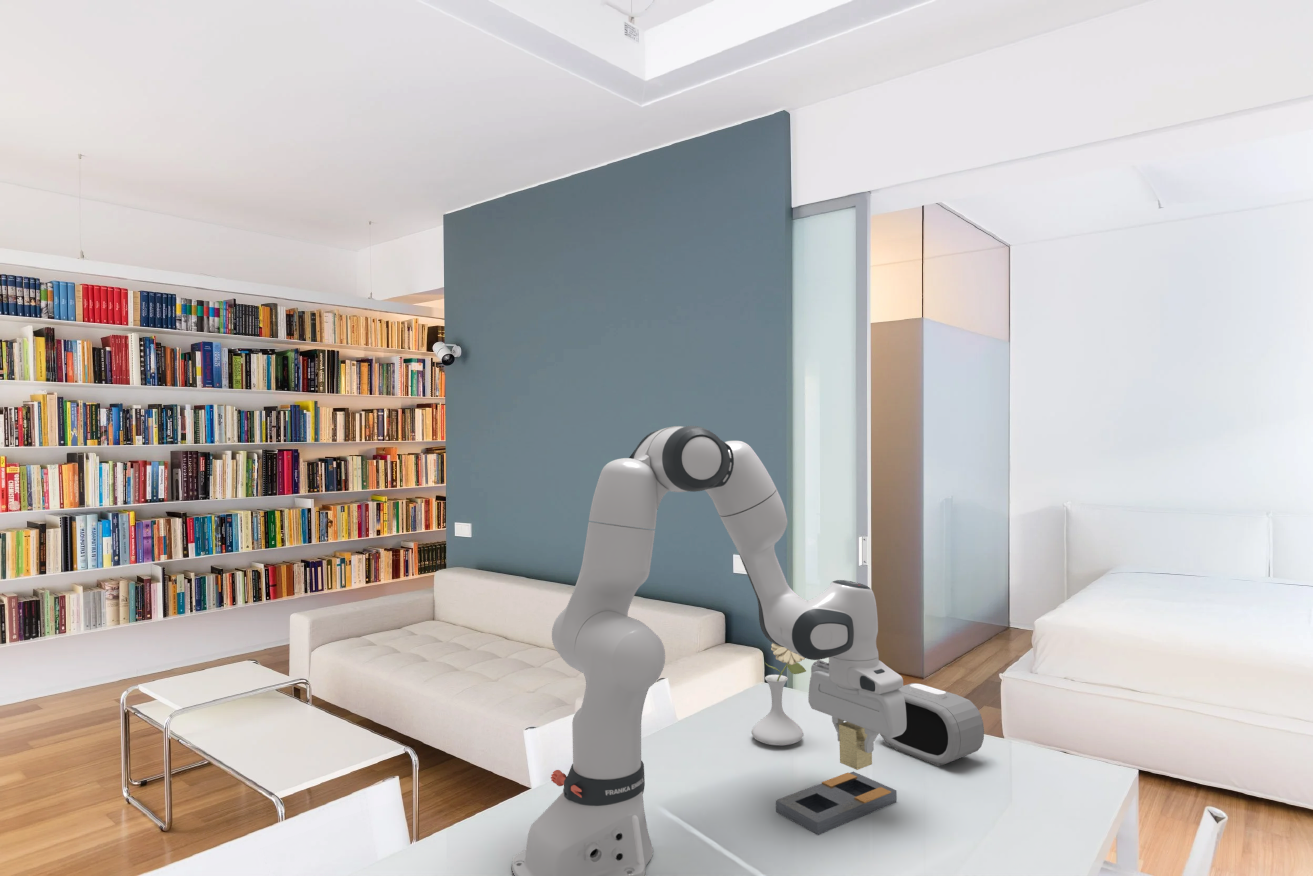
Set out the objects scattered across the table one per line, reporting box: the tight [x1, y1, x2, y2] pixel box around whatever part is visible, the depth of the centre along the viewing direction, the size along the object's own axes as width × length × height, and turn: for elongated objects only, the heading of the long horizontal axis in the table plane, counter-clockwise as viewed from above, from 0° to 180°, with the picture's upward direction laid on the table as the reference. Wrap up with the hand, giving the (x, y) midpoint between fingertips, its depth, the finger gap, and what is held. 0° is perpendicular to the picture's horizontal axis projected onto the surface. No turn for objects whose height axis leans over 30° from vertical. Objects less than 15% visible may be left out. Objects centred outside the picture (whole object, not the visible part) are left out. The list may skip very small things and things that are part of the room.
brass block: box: [838, 721, 873, 771], centre depth 140 cm, size 4×4×7 cm
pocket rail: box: [775, 771, 898, 836], centre depth 137 cm, size 20×10×3 cm, turn 124°
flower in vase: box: [751, 642, 807, 746], centre depth 171 cm, size 13×11×25 cm
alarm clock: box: [879, 682, 985, 767], centre depth 163 cm, size 21×10×13 cm, turn 33°
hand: (855, 746), depth 140 cm, fingers closed on brass block, 4 cm apart
